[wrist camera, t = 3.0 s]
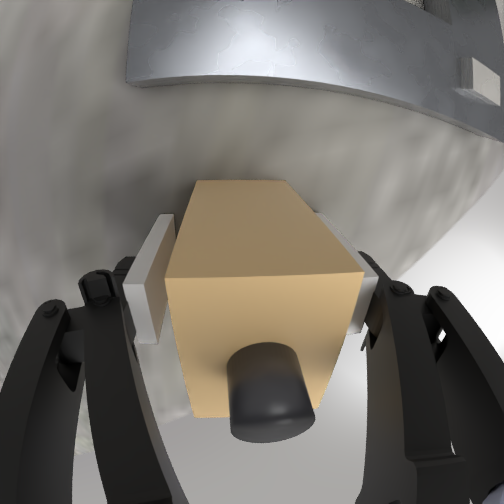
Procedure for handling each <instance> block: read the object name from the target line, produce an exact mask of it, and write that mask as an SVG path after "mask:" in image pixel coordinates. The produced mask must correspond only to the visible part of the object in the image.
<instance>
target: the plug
mask: <svg viewBox="0 0 504 504" xmlns="http://www.w3.org/2000/svg"><path fill="white" fill-rule="evenodd" d="M364 273H365V272H364V270H363V269H362V268H361V267H360V265H359V264H358V263H357V262H356V261H355V259H354V258H353V257H352V256H351V254H350V253H349V252H348V251H347V250H346V248H345V247H344V246H343V245H342V244H341V242H340V241H339V240H338V239H337V238H336V237H335V235H334V234H333V233H332V232H331V231H330V230H329V228H328V227H327V226H326V225H325V224H324V223H323V222H322V220H321V219H320V218H319V217H318V216H317V215H316V214H315V213H314V211H313V210H312V209H311V208H310V207H309V206H308V205H307V204H306V203H305V202H304V200H303V199H302V198H301V197H300V196H299V195H298V194H297V193H296V192H295V191H294V190H293V189H292V187H291V186H290V185H289V184H288V183H287V182H286V181H285V180H197V182H196V184H195V187H194V190H193V193H192V195H191V198H190V201H189V204H188V207H187V209H186V212H185V215H184V218H183V221H182V224H181V227H180V230H179V233H178V236H177V239H176V242H175V245H174V248H173V252H172V255H171V258H170V261H169V264H168V268H167V271H166V274H165V278H164V279H165V285H166V292H167V298H168V303H169V309H170V315H171V320H172V325H173V330H174V335H175V340H176V345H177V350H178V354H179V359H180V363H181V367H182V372H183V376H184V380H185V384H186V388H187V392H188V396H189V399H190V403H191V407H192V410H193V414H194V417H196V418H207V417H208V418H209V417H210V418H213V417H214V418H215V417H230V427H231V433H232V435H233V436H234V437H236V438H237V439H239V440H242V441H246V442H252V443H270V442H277V441H282V440H286V439H289V438H292V437H295V436H297V435H299V434H301V433H303V432H305V431H306V430H307V429H309V428H310V427H311V426H312V425H313V423H314V422H315V414H314V412H313V409H315V408H318V406H319V404H320V402H321V399H322V397H323V395H324V392H325V390H326V387H327V385H328V382H329V380H330V377H331V375H332V372H333V370H334V367H335V364H336V362H337V359H338V356H339V354H340V351H341V348H342V345H343V342H344V339H345V336H346V333H347V330H348V327H349V324H350V321H351V318H352V315H353V312H354V308H355V305H356V302H357V298H358V295H359V291H360V288H361V284H362V280H363V277H364Z"/></svg>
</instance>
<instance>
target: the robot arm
mask: <svg viewBox="0 0 504 504" xmlns="http://www.w3.org/2000/svg"><path fill="white" fill-rule="evenodd" d="M315 214H316V215H317V216H318V217H319V218H320V219H321V220H322V222H323V223H324V224H325V225H326V226H327V227H328V228H329V230H330V231H331V232H332V233H333V234H334V235H335V237H336V238H337V239H338V240H339V241H340V242H341V244H342V245H343V246H344V247H345V248H346V250H347V251H348V252H349V253H350V254H351V256H352V257H353V258H354V259H355V261H356V262H357V263H358V264H359V265H360V267H361V268H362V269H363V270H364V272H365V273H364V277H363V280H362V284H361V288H360V291H359V295H358V298H357V302H356V305H355V308H354V312H353V315H352V318H351V321H350V324H349V327H348V330H347V333H346V335H349V334H356V333H361V330H362V327H363V325H364V322H365V323H366V325H367V326H368V328H369V329H368V331H367V334H366V336H365V339H364V342H363V344H362V347H361V351H363V350H364V347H365V346H366V353H367V385H368V387H367V389H368V390H367V391H368V400H367V438H366V454H365V466H364V477H363V485H362V489H361V492H360V494H359V496H358V497H357V499H356V502H355V504H470V499H471V501H472V503H473V504H504V363H503V361H502V359H501V358H500V356H499V355H498V353H497V352H496V351H495V349H494V347H493V346H492V344H491V343H490V341H489V340H488V339H487V337H486V336H485V334H484V333H483V331H482V330H481V329H480V328H479V326H478V325H477V323H476V322H475V321H474V319H473V318H472V317H471V315H470V314H469V313H468V312H467V310H466V309H465V308H464V306H463V305H462V304H461V302H460V301H459V300H458V299H457V297H456V296H455V295H454V294H453V293H452V292H451V291H449V290H448V289H447V288H445V287H442V286H433V287H431V288H430V290H429V292H428V295H427V296H423V295H416V294H414V291H413V290H412V288H411V287H409V286H408V285H407V284H405V283H403V282H400V281H394V280H391V279H390V278H389V277H388V276H387V275H386V273H385V272H384V271H383V270H382V269H381V268H380V267H379V266H378V264H377V263H375V261H374V260H373V259H372V258H371V257H370V256H369V255H367V254H365V253H364V252H362V251H358V252H357V251H356V249H355V248H354V247H353V246H352V245H351V244H350V243H349V242H348V240H347V239H346V238H345V237H344V236H343V235H342V234H341V233H340V232H339V231H338V229H337V228H336V227H335V226H334V225H333V224H332V223H331V222H330V221H329V220H328V219H327V218H326V217H325V216H324V214H323V213H315ZM175 242H176V235H175V223H174V214H160V215H159V217H158V218H157V220H156V222H155V224H154V225H153V227H152V229H151V231H150V232H149V234H148V236H147V238H146V240H145V241H144V243H143V245H142V247H141V249H140V251H139V253H138V255H137V256H136V257H125V258H124V259H122V260H121V261H120V262H118V264H117V266H116V267H115V270H114V271H113V272H111V271H109V270H95V271H92V272H89V273H87V274H86V275H84V276H83V277H82V278H81V279H80V280H79V283H78V285H79V288H80V291H81V294H82V297H83V300H84V303H85V306H83V307H79V308H73V309H68V310H67V307H66V305H65V303H64V302H63V301H62V300H58V299H54V300H49V301H46V302H45V303H43V304H42V305H41V306H40V307H39V308H38V309H37V310H36V312H35V314H34V316H33V318H32V320H31V322H30V324H29V326H28V328H27V330H26V332H25V334H24V336H23V338H22V340H21V342H20V345H19V347H18V349H17V351H16V354H15V356H14V358H13V361H12V363H11V365H10V368H9V370H8V373H7V376H6V378H5V381H4V384H3V386H2V389H1V392H0V504H72V476H73V459H74V448H75V438H76V430H77V422H78V415H79V409H80V403H81V397H82V391H83V386H84V381H85V380H86V393H87V403H88V412H89V419H90V426H91V433H92V439H93V444H94V449H95V454H96V459H97V464H98V468H99V472H100V476H101V480H102V484H103V488H104V491H105V495H106V499H107V504H189V503H188V500H187V498H186V496H185V494H184V492H183V490H182V488H181V486H180V483H179V481H178V479H177V476H176V474H175V472H174V469H173V467H172V464H171V462H170V459H169V457H168V454H167V452H166V449H165V446H164V444H163V441H162V438H161V435H160V432H159V429H158V427H157V424H156V421H155V417H154V414H153V411H152V408H151V405H150V401H149V398H148V395H147V391H146V387H145V384H144V380H143V376H142V372H141V368H140V364H139V360H138V356H137V352H136V348H135V345H134V338H135V335H137V338H138V341H139V343H140V344H158V342H159V337H160V332H161V327H162V323H163V318H164V314H165V309H166V305H167V301H168V298H167V292H166V285H165V279H164V278H165V274H166V271H167V268H168V264H169V261H170V258H171V255H172V252H173V248H174V245H175ZM442 329H443V330H444V332H445V333H446V335H445V337H444V339H443V340H442V342H441V341H440V340H439V338H438V337H439V335H440V333H441V331H442ZM451 442H452V445H453V448H454V451H455V454H456V455H455V454H454V453H453V452H452V448H451Z"/></svg>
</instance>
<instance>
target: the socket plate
mask: <svg viewBox="0 0 504 504" xmlns="http://www.w3.org/2000/svg"><path fill="white" fill-rule="evenodd" d="M423 1H424V8H425V10H423V9H421V8H419V7H417V6H415V5H413V4H411V3H408V2H406V1H404V0H133V6H132V13H131V21H130V30H129V40H128V52H127V68H126V83H128V84H132V85H135V86H138V87H141V88H145V87H154V86H163V85H175V84H191V83H258V84H274V85H286V86H296V87H305V88H312V89H319V90H326V91H332V92H338V93H344V94H349V95H354V96H359V97H363V98H368V99H372V100H377V101H381V102H385V103H388V104H392V105H396V106H399V107H403V108H406V109H410V110H413V111H416V112H419V113H422V114H426V115H428V116H431V117H434V118H437V119H440V120H443V121H445V122H448V123H451V124H453V125H456V126H458V127H461V128H463V129H465V130H468V131H470V132H472V133H475V134H477V135H479V136H482V137H485V138H489V139H493V140H496V141H499V142H503V143H504V43H503V36H502V30H501V24H500V19H499V14H498V10H497V6H496V2H495V0H423Z"/></svg>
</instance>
